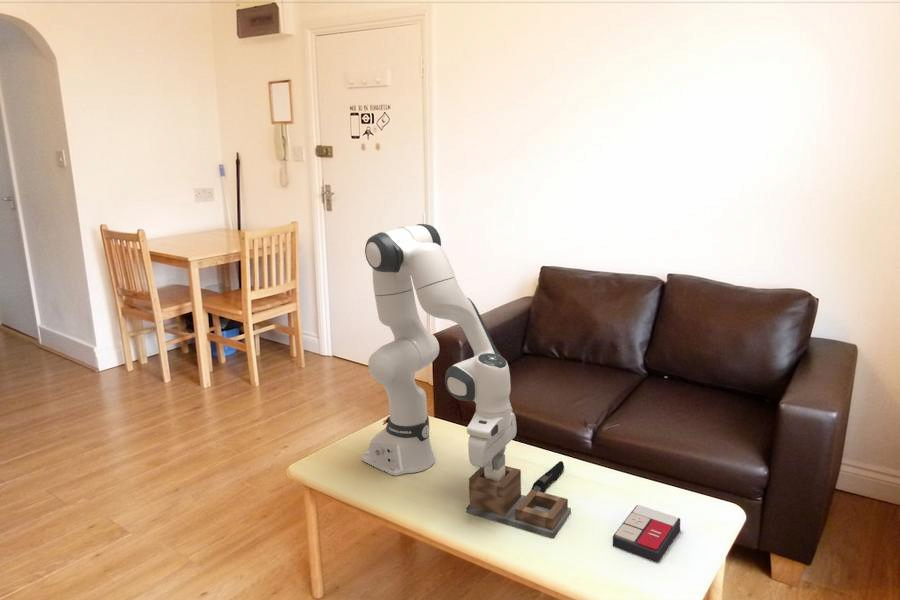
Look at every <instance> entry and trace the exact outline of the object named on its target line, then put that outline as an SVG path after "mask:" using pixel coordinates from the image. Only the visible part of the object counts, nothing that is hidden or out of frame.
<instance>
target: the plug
mask: <svg viewBox="0 0 900 600" xmlns="http://www.w3.org/2000/svg"><path fill="white" fill-rule="evenodd" d="M491 462H492V464H494V470H493V471H492V473H488V472H486V470H485V466H484V474H485V478H486V479H490V480H494V481H498V482H501V481H502V480H503V479H504V478H505V466H506V455H505V453H504V454H500V453H498V454H497V455H496V456H494V457H493V458H492V461H491Z"/></svg>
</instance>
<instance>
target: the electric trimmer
mask: <svg viewBox="0 0 900 600" xmlns="http://www.w3.org/2000/svg"><path fill="white" fill-rule="evenodd" d="M564 469H565V464H564V462H563V461H562V460H560V461H558V462H557V463H556V464H554V466H552V467H551V468H550V469H549V470H548V471H546V472H545V473H543V474H542V475H541V476H540V477H539V478H537V479H536V481H534V483H533V484H532V487H531V488H530V491H531V490H535V491H539V492H543V493H546V488H547V487H548V486H549V485H550V484H551V483H552V482H553V481H557V480H558V478H559V477H560V475H561V474H562V472H563V471H564Z"/></svg>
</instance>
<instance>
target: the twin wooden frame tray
mask: <svg viewBox="0 0 900 600" xmlns="http://www.w3.org/2000/svg"><path fill="white" fill-rule="evenodd" d="M468 493H469V494H468V495H469V496H468V497H469V499H468V500H469V504H468V505H467V506H466V507H465V509H466V510H465V513H467V514H469V515H470V514H471V515H472V516H476V517H479V518H484V519H485V520H486V519H487V520H489V521H494V522H497V523H499V524H503V525H505V526H510V527H514V528H517V529H520V530H523V531H527V532H530V533H534V534H537V535H540V536H543V537H547V538H550V539H554V538H555V537H556V536H557V534H558V532H559V531H560V530H561V528H562V527H563V526H564V524H565V522H567V520H568V518H569V516H571V513H572V508H571V507H568V506H569V505H568V504H569V500H568V498H565V497H561V496H558V495H553V494H550V493H546V492H544V493H543V492H539V491H535V490H531V489H530V490H529V492H528V493H527V494H526V495H523V494H522V471H521V469H519V468H517V467H516V468H515V467H512V466H508V465H505V478H504V479H503V480H502V481H501V482H498V481H494V480H490V479H486V478H485V474H484V467H478V469H477V470H476V471H475V472H474V473H472V475H470V477H469V478H468Z"/></svg>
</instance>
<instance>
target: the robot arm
mask: <svg viewBox="0 0 900 600" xmlns="http://www.w3.org/2000/svg"><path fill="white" fill-rule="evenodd" d="M441 240H442V239H441V237H440V234H439V232H438V230H437V229H436V228H435V227H434V226H433V225H431V224H427V223H420V224H419V223H418V224H416V225H415V224H414V225H407V226H406V225H404V226H399V227H397V228H394V229H391V230H387V231H384V232H382V231H381V232H378V233H376V234H374V235H372V236H370V237H369V238H368V239H367V241H366V243H365V247H364V255H365V259H366V261H367V263H368V265H369V267H370V268H372V284H373V285H372V286H373V293H374V298H375V304H376V310H377V316H378V319H379V322H381V324H382V325H384V326H386V327H388V328H389V329H390V330H391V332H392V334H393V338H394V339H393V341H390V342H389V343H386V344H384V345H382V346H380V347H379V348H378V349H376V350H375V351H374V352H373V353H372V354H371V355H370V356H369V359H368V362H367V363H368V371H369V373H370V376H371V377H372V378H373V379H374V380H375V381H376V382H377V383H379V384H381V385H382V386H383V388H384V389H385V392H386V395H387V399H388V410H389V416H387V417H386V419H385V420H383V421H382V425H383V426H384V425H386V427H384V428H383V429H382V430H380V431H379V432H378V433H376V434H375V436H373V437H372V438H371V439H370V442H369V449H367V450H366V451H365V452H364V453H363V454H362V457H361V461H362V462H363V461H364V462H363V463H365V462H366V463H365V464H367V463H368V464H367V465H369V464H370V465H369V466H371V465H372V466H371V467H373V466H374V468H376V469H378V470H380V471H383V472H384V471H385V472H384V473H386V472H387V473H386V474H389V475H391V476H393V475H394V477H395V476H400V475H404V474H414V473H419V472H422V471H426V470H428V469H429V468H431V467H432V466H433V465H434V464H435V462H436V457H435V455H434V452H433V450H432V445H431V441H430V420H429V419H430V417H429V415H428V406H427V394H426V391H425V390H424V389H423V388H422V387H421V386H419V385H417V383H416V380H415V375H416V373H417V372H420V371H421V370H423V369H425V368H426V367H429V366H430V364H432V363H433V362H434V361H435V360H436V358H437V357H438V356H439V353H440V343H439V341H438V339H437V338H436V336H435V335H434V334H433V333H431V332H430V331H428V329H426V328H425V326H424V324H423V322H422V320H421V317H420V316H419V312H418V308H417V303H416V299H415V294H416V297H417V300H418V303H419V305H420V306H421V309H423V311H424V312H425V313H426V314H428V315H429V316H432V317H434V318H436V319H441V320H447V321H452V322H454V323H456V324H457V325H458V326H460V327H461V329H462V330H463V333H464V334H465V337H466V339H467V341H468V343H469V345H470V347H471V349H472V351H473V357H470V358H467V359H465V360H461V361H460V362H457V363H454V364H453V365H451V366H449V367H448V368H447V370H446V372H445V376H444V381H445V382H444V383H445V386H446V387H445V388H446V390H447V391H448V393H449V394H450V396H452V397H453V398H454V399H456V400H458V401H463V402H474V403H475V412H474V414H473V416H472V419H471V420H470V421H469V424H468V425H467V427H466V434H467V435H469V437H468V442H467V447H468V451H467V452H468V461H469V463H470V464H471V466H474V467H477V468H480V467H484V466H485V470H486V472H488V473H492V471H493V470H494V464H492V462H491V461H492V458H493V457H494V456H496V455H497V454H498V453H500V454H504V455H505V452H506V447H507V445H508V444H509V443H510V442H511V441H513V439H515V437H516V436H517V420H516V418H517V417H516V415H515V413H514V412H513V407H512V404H511V401H510V394H511V374H510V367H509V364H508V361H507V359H506V358H504V357H503V356H502V355H501V353H500V352H499V351H498V349H497V347H496V345H495V343H494V342H493V340H492V337H491V335H490V333H489V331H488V329H487V327H486V324H485V323H484V321H483V318H482V315H480V312H479V310H478V309H477V307H476V305H475V303H474V302H473V301H472V299H470V298H469V297H467V296H466V295H465V293H464V292H463V290H462V289H461V287H460V285H459V283H458V280H457V278H456V275H455V272H454V269H453V267H452V264H451V263H450V260H449V258H448V257H447V254H446V253H445V250H444V249H443V247H442V241H441ZM414 290H415V291H414ZM414 293H415V294H414Z"/></svg>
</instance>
